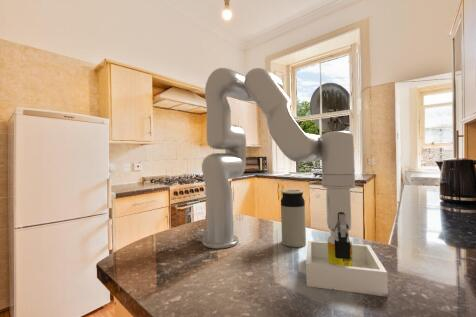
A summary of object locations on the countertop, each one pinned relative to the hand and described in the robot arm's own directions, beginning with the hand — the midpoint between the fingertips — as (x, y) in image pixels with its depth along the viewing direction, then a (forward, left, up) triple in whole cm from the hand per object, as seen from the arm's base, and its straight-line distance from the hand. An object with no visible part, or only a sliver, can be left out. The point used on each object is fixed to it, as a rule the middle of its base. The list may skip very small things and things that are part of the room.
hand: (340, 250), depth 58 cm
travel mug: (-13, +19, -6) cm, 24 cm away
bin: (0, 0, -6) cm, 6 cm away
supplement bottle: (0, 0, -5) cm, 5 cm away
